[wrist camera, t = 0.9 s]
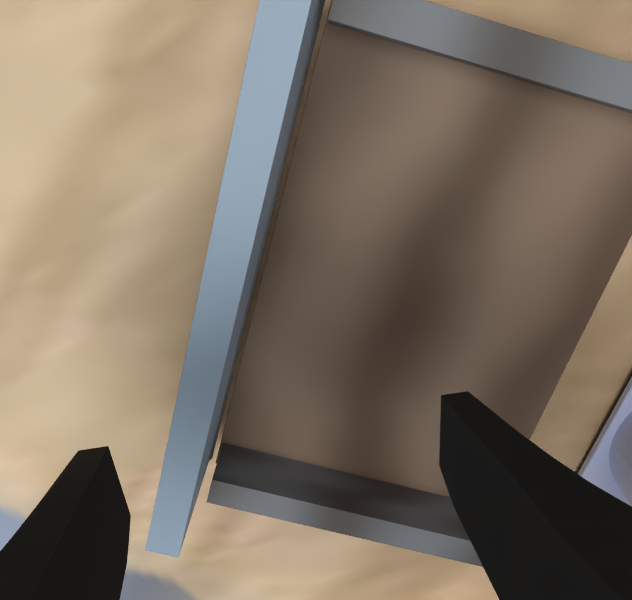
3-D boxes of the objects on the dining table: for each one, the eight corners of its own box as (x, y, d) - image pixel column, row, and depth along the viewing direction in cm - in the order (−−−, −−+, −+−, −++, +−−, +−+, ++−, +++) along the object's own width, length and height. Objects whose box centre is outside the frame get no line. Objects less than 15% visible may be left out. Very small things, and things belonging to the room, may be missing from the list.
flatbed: (671, 90, 22) (749, 99, 18) (476, 497, 30) (498, 570, 25) (336, -11, 21) (335, -27, 17) (223, 436, 29) (204, 501, 24)
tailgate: (326, -2, 19) (321, -25, 14) (213, 451, 27) (180, 558, 21) (287, -14, 19) (268, -41, 14) (185, 445, 27) (145, 550, 21)
